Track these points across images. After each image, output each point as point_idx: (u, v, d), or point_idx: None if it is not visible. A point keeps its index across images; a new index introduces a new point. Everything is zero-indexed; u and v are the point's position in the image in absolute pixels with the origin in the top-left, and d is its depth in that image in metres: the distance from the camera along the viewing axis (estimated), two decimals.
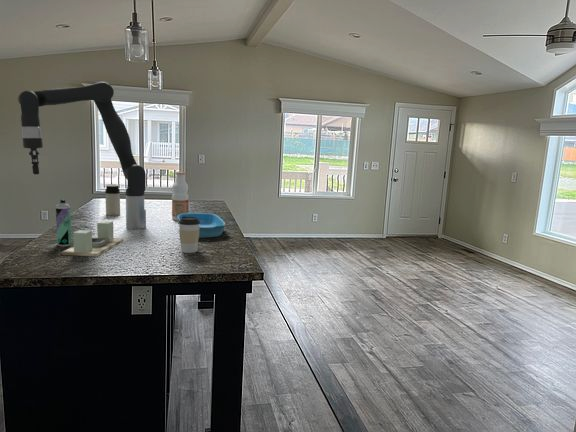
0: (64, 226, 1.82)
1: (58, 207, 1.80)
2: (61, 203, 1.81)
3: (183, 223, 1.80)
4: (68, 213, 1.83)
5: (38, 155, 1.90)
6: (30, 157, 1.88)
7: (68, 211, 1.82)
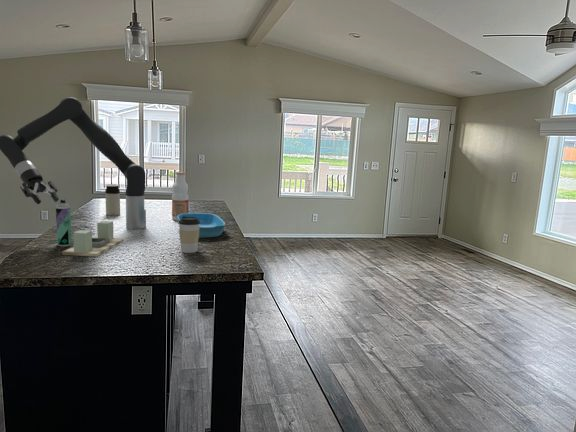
0: (64, 226, 1.82)
1: (58, 207, 1.80)
2: (61, 203, 1.81)
3: (183, 223, 1.80)
4: (68, 213, 1.83)
5: (34, 185, 1.84)
6: (31, 191, 1.84)
7: (68, 211, 1.82)
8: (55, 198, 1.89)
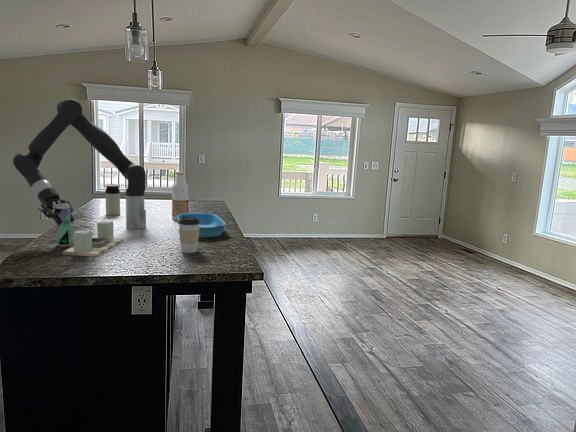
0: (64, 226, 1.82)
1: (58, 207, 1.80)
2: (61, 203, 1.81)
3: (183, 223, 1.80)
4: (68, 213, 1.83)
5: (52, 205, 1.82)
6: (49, 211, 1.82)
7: (68, 211, 1.82)
8: (71, 219, 1.86)
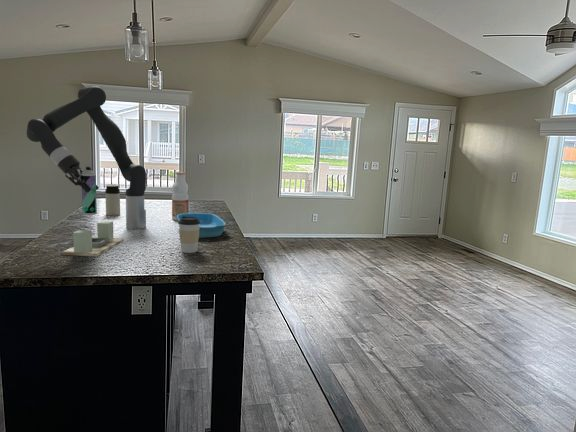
0: (92, 193, 1.78)
1: (86, 174, 1.76)
2: (88, 170, 1.77)
3: (183, 223, 1.80)
4: (95, 180, 1.79)
5: (78, 172, 1.76)
6: (74, 179, 1.77)
7: (95, 178, 1.79)
8: None
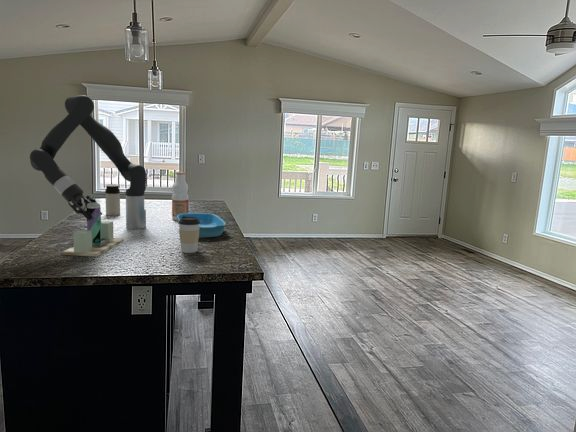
0: (97, 225, 1.81)
1: (91, 207, 1.78)
2: (93, 203, 1.79)
3: (183, 223, 1.80)
4: (100, 212, 1.81)
5: (81, 201, 1.78)
6: (77, 207, 1.78)
7: (100, 210, 1.81)
8: None
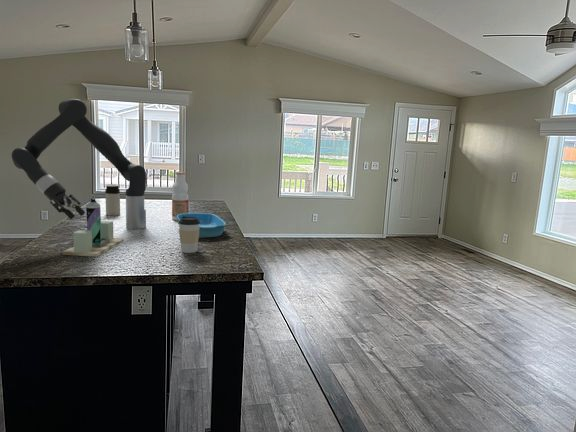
0: (97, 225, 1.81)
1: (91, 206, 1.78)
2: (93, 202, 1.80)
3: (183, 223, 1.80)
4: (100, 212, 1.82)
5: (63, 200, 1.78)
6: (59, 206, 1.78)
7: (99, 210, 1.82)
8: (81, 212, 1.85)
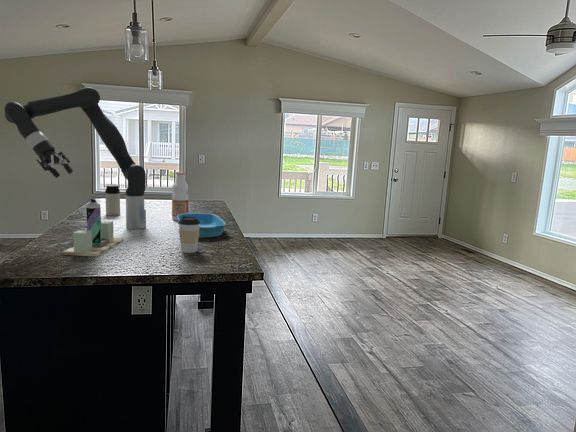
0: (97, 225, 1.81)
1: (91, 207, 1.78)
2: (93, 202, 1.79)
3: (183, 223, 1.80)
4: (100, 212, 1.82)
5: (50, 158, 1.83)
6: None
7: (100, 210, 1.82)
8: (69, 170, 1.91)
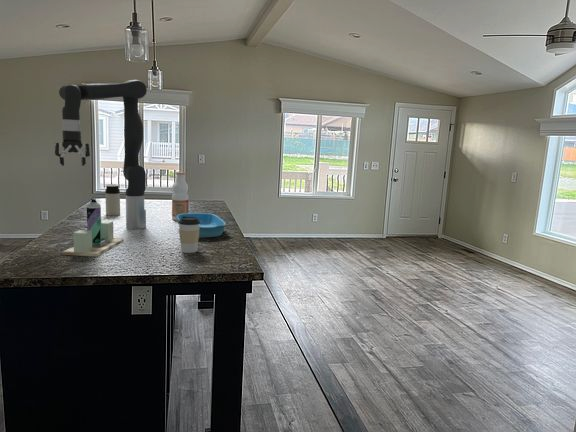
0: (97, 225, 1.81)
1: (91, 207, 1.78)
2: (93, 202, 1.79)
3: (183, 223, 1.80)
4: (100, 212, 1.82)
5: (66, 147, 1.94)
6: (64, 149, 1.96)
7: (100, 210, 1.82)
8: (82, 163, 2.00)
